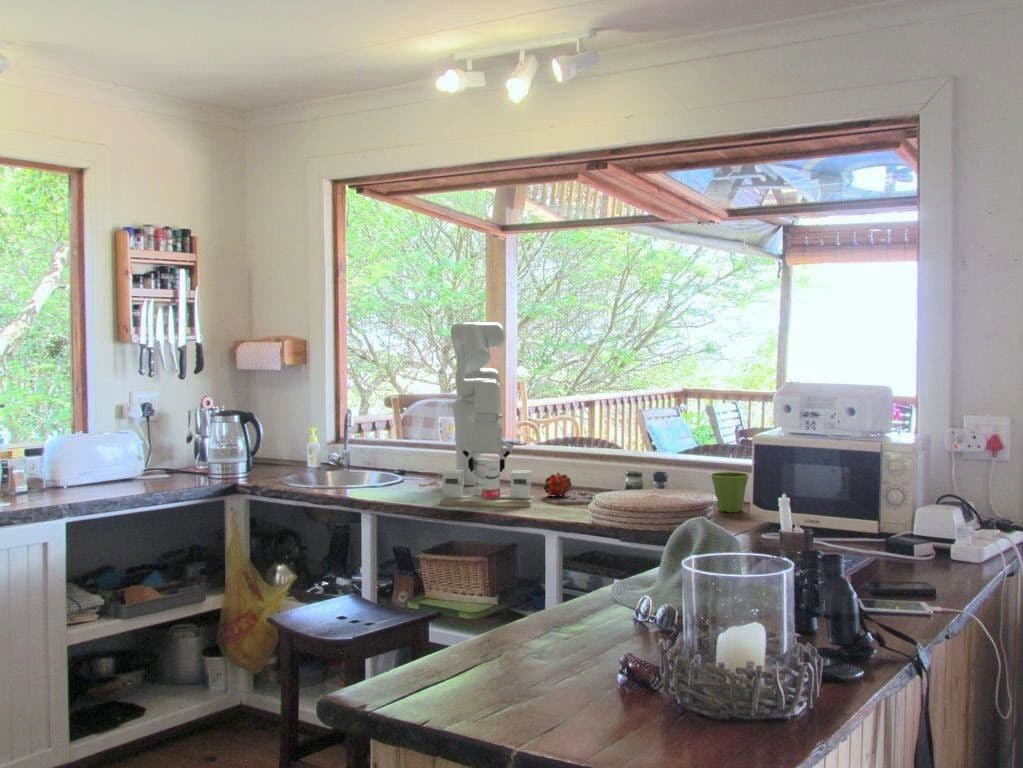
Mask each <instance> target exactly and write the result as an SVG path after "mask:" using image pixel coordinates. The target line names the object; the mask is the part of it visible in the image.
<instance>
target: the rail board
mask: <svg viewBox="0 0 1023 768" xmlns="http://www.w3.org/2000/svg"><path fill="white" fill-rule="evenodd" d="M531 474H532V471H531V470H511V472H510V494H509V495H507V494H505V495H501V494H500V497H493V498H486V497H482V496H478V495H474V494H465V485H464V470H456V469H444V471H442V479H441V480H442V496H441V499H440V500H439V507H441V506H442V507H503V508H504V507H505V508H506V507H510V508H511V507H516V508H517V507H518V508H520V507H521V508H522V507H523V508H525V507H527V508H530V507H532V504H533V502H534V496H533V495H532V485H531V484H532V475H531Z"/></svg>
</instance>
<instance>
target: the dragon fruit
mask: <svg viewBox="0 0 1023 768" xmlns="http://www.w3.org/2000/svg"><path fill="white" fill-rule="evenodd" d="M571 487H572V481H571V478H570V477H569V476H568V474H566V473H565V474H562V475H561V474H560V472H557V473H556V474H551V475H550V476H549V477H547V478H546V479H545V485H543V489H544V491H545V492H546V494H547V497H548V496H549V495H557V496H559V495H564V496H565V495H566V493H569V492H571V491H572V488H571Z"/></svg>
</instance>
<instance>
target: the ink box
mask: <svg viewBox="0 0 1023 768" xmlns="http://www.w3.org/2000/svg"><path fill="white" fill-rule="evenodd" d="M500 473H501V472H500V460H495V459H489V458H481V459H474V485H473V495H478V496H482V497H486V498H493V497H500V495H501V482H500V481H501V479H500V478H501V475H500Z"/></svg>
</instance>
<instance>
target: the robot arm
mask: <svg viewBox="0 0 1023 768" xmlns="http://www.w3.org/2000/svg"><path fill="white" fill-rule="evenodd" d="M505 336H506V335H505V330H504V328H503V325H502V324H501V323H500V322H493V321H492V322H491V321H490V322H488V321H487V322H483V321H482V322H478V321H472V322H471V321H469V322H468V321H467V322H457V323H454V324H453V325H452V326H451V328H450V339H451V344H452V346H453V349H454V351H455V355H456V356H455V357H456V371H455V377H454V379H455V380H454V381H455V388H456V389H455V390H456V395H457V397H458V399H456V400H455V401H454V402H453V404H452V414H453V420H454V421H453V423H454V432H455V470H464V486H474V459H482V454H485V455H488V454H490V455H491V454H493V455H498V457H499V458H500V459H499V461H500V473H501V472H503V471H504V470H506V462H505V461H506V458H507V457H509V455H510V454H511V453H512V450H513V449H514V445H513V444H511V443H509V442H508V441H506V440H503V429H502V423H501V422H500V421H499V420H503V416H504V415H503V414H501V410H502V409H501V376H500V373H499V371H498V370H497V369H495V368H492V367H486V366H487V365H488V364H489V363H490V361H491V357H492V355H491V351H490V347H494V348H495V347H502V346H503V345H504V343H505V339H506V338H505ZM503 446H504V447H506V448H507V450H506V451H505V453H504V452H503V449H504V447H503Z"/></svg>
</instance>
